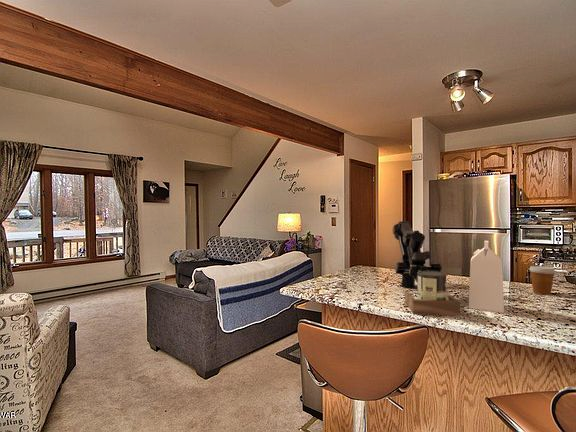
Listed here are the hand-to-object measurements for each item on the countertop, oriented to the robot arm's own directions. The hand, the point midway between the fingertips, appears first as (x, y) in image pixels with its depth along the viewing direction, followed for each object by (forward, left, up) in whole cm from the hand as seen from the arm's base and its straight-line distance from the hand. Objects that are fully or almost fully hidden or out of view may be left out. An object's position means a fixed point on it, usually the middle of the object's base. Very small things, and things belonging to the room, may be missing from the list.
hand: (421, 285), depth 138 cm
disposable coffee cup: (-53, +28, -6) cm, 60 cm away
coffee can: (+10, +10, -6) cm, 15 cm away
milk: (-11, +21, -6) cm, 25 cm away
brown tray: (+9, +9, -6) cm, 14 cm away
